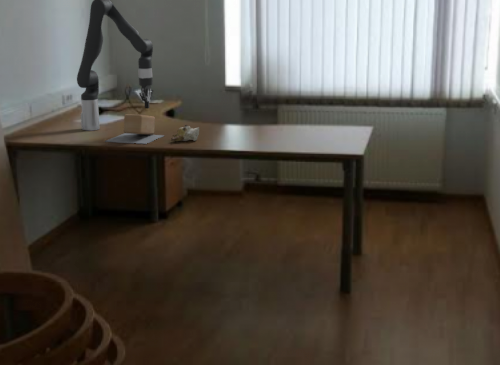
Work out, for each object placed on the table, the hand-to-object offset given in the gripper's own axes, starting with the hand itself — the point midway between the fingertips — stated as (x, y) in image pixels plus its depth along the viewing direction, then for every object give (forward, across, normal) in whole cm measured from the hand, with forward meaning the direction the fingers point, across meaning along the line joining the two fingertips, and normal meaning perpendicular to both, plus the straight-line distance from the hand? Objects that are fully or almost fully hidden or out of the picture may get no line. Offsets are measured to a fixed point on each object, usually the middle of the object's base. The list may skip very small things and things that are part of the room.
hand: (147, 108), depth 429 cm
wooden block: (+9, +2, +1) cm, 9 cm away
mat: (+14, +16, 0) cm, 21 cm away
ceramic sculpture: (+14, +13, +28) cm, 34 cm away
